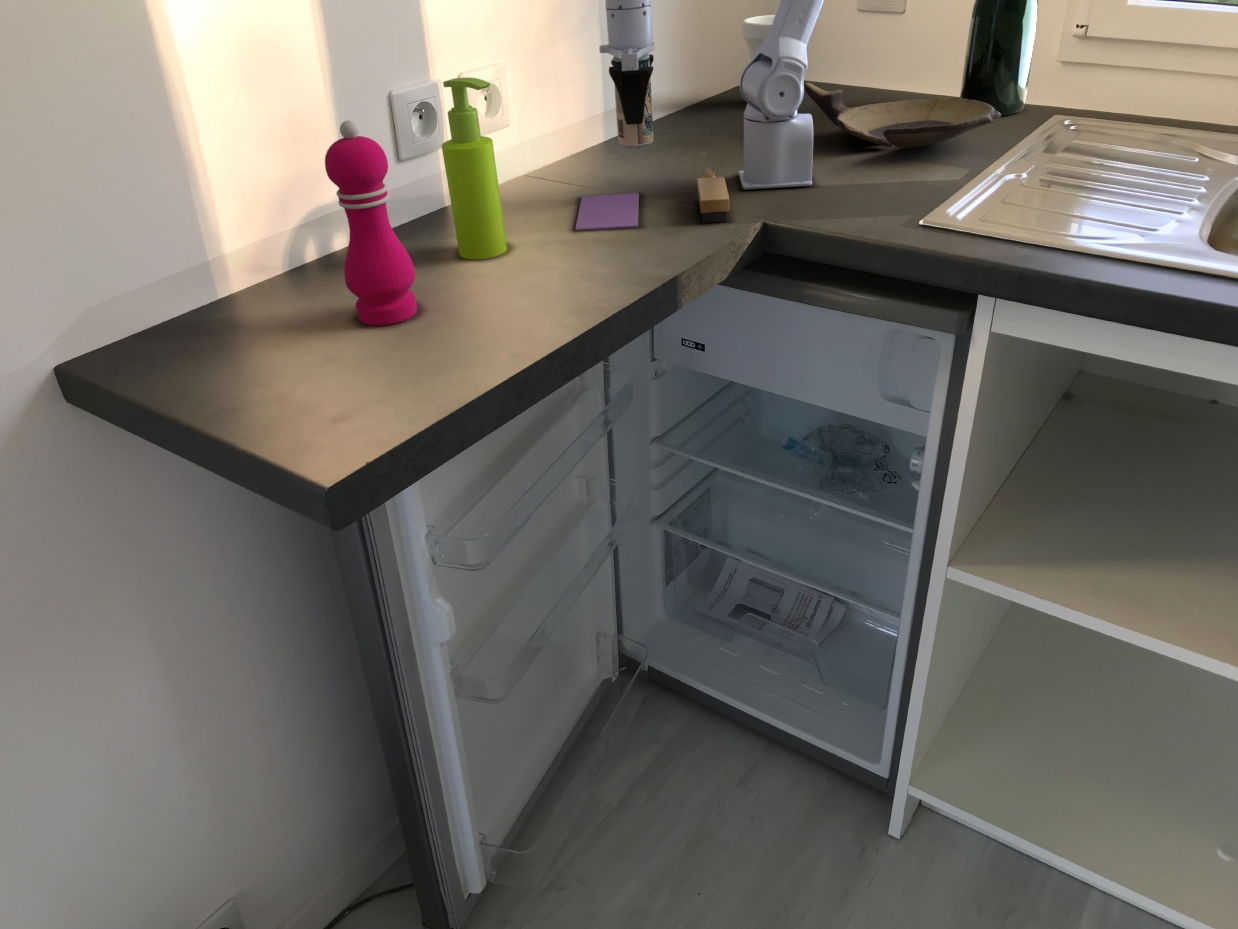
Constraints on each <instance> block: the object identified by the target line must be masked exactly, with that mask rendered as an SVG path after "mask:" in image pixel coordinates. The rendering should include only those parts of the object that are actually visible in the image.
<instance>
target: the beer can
mask: <svg viewBox="0 0 1238 929" xmlns="http://www.w3.org/2000/svg"><path fill="white" fill-rule="evenodd" d="M649 54H650V53H648V54H646V55H644V56H642V57H641V58H638V65H640V67H650V56H649ZM612 57H613V58H612V59H613V66H612V67H615V66H622V61H621V59H619V58H617V57H615V56H612ZM651 77H652V76H651ZM651 77H650V80H649V83H648V86H647V91H646V97H645V108H644V117H643V122H642V124H630V125H627V124H626V121H625V118H624V114H623V110H622V105H621V101H620V97H619V93H618V91H617V88H616V86H615V84H613V85H614V100H615V114H616V115H615V116H616V130H617V143H618V144H619V145H620V146H622V147H623V148H625V149H633V150H634V149H642V148H643V149H644V148H647V147H649V146H650V145H651V144H652V143H653V142H654V139H655V138H654V121H653V120H654V119H653V99H652V98H653V97H652V78H651Z"/></svg>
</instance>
